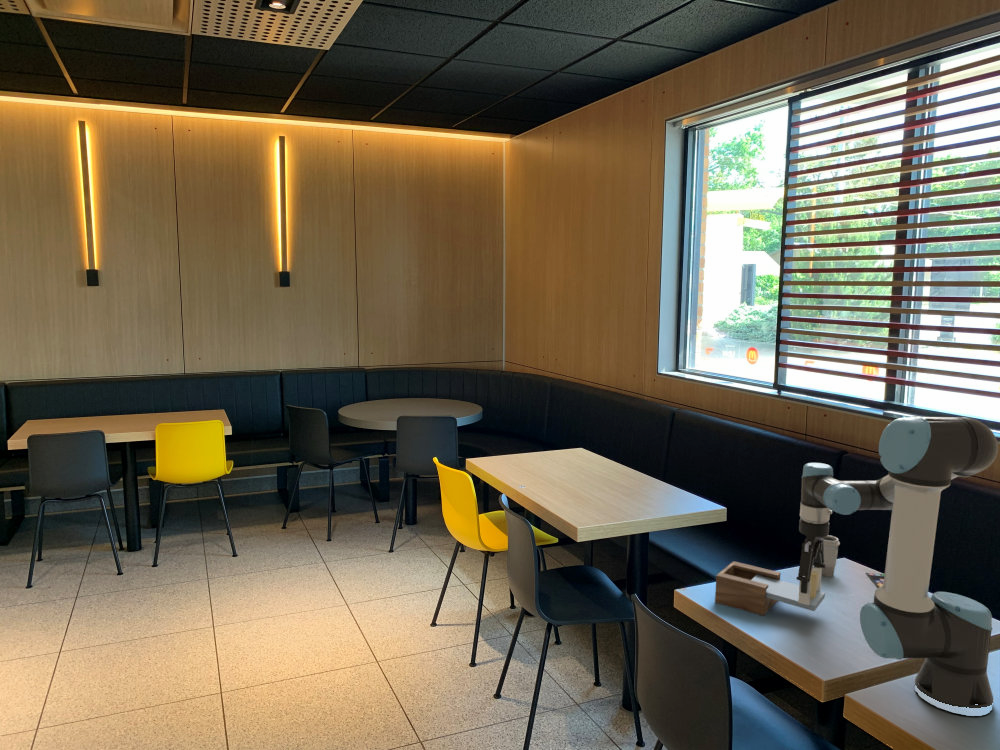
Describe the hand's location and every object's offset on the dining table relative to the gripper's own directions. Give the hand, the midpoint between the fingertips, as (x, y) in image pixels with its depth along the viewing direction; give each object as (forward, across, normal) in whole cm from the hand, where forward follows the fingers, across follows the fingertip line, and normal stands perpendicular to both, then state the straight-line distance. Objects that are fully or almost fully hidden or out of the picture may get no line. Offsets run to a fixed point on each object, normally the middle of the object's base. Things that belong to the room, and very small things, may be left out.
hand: (809, 596), depth 206 cm
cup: (+6, +36, +4) cm, 37 cm away
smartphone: (+7, +40, -13) cm, 43 cm away
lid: (+1, 0, +7) cm, 7 cm away
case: (+6, 0, +17) cm, 18 cm away
